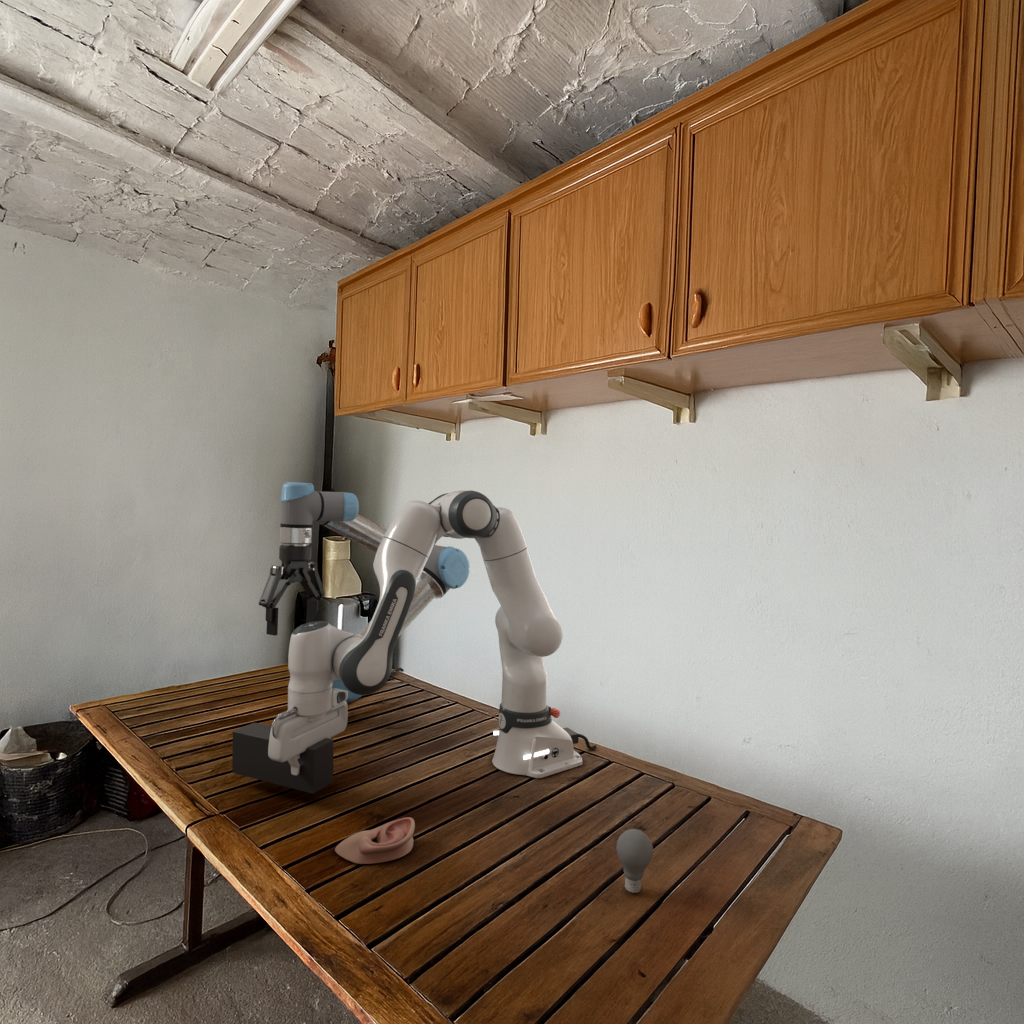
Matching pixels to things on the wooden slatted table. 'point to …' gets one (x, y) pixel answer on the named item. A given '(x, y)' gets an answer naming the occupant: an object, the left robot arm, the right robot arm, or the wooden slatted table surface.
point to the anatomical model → (379, 843)
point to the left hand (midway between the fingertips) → (292, 630)
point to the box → (257, 764)
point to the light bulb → (634, 857)
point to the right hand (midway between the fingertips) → (309, 766)
